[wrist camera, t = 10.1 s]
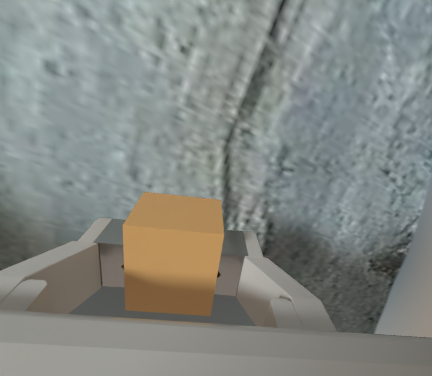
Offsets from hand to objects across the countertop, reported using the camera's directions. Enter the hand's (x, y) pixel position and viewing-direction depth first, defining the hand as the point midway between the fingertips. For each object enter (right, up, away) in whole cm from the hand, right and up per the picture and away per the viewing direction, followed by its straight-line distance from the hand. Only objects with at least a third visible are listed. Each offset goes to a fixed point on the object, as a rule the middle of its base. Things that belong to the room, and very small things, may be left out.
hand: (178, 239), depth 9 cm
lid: (-1, -5, +3) cm, 6 cm away
